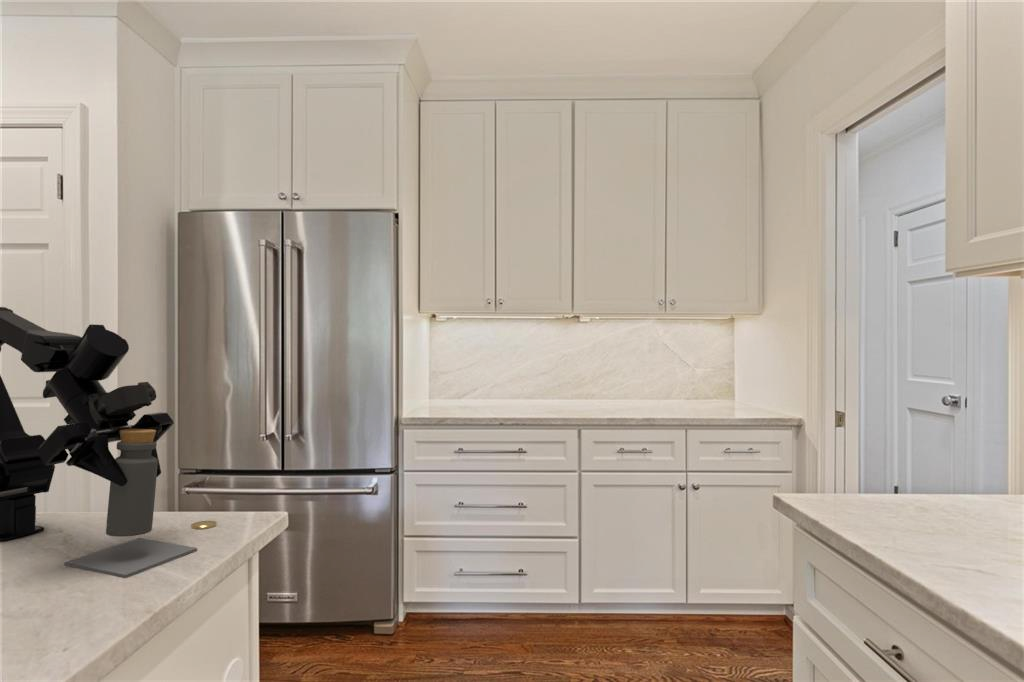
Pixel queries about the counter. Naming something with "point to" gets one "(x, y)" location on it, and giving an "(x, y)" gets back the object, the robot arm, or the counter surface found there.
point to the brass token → (203, 524)
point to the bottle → (133, 485)
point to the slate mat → (130, 557)
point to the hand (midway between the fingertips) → (142, 479)
